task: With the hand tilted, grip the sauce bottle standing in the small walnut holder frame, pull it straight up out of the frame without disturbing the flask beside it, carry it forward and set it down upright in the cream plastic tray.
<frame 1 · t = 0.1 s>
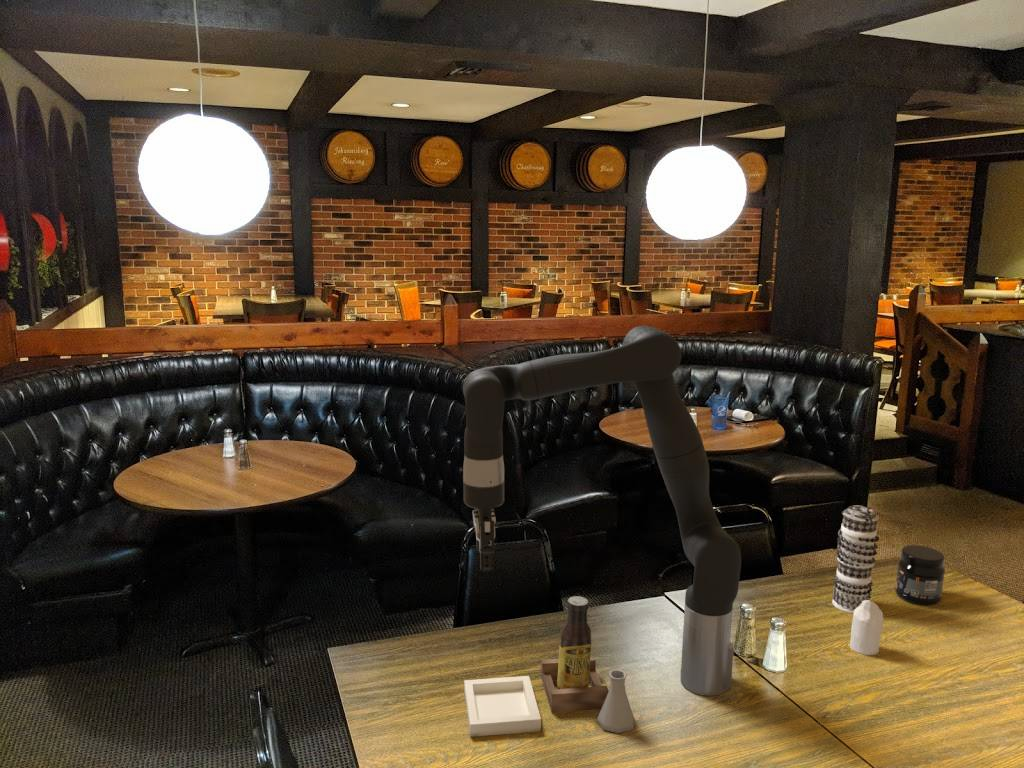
hand: (484, 560, 149), 29 cm above the table, tool pointing down, fingers open, 8 cm apart
tray: (500, 710, 152), on the table
decorative candle: (850, 606, 194), on the table
holder: (573, 692, 158), on the table
white pointed cylinder: (864, 650, 175), on the table
supplement container: (917, 597, 199), on the table
sauce bottle: (573, 693, 158), resting in holder
flask: (615, 722, 149), on the table
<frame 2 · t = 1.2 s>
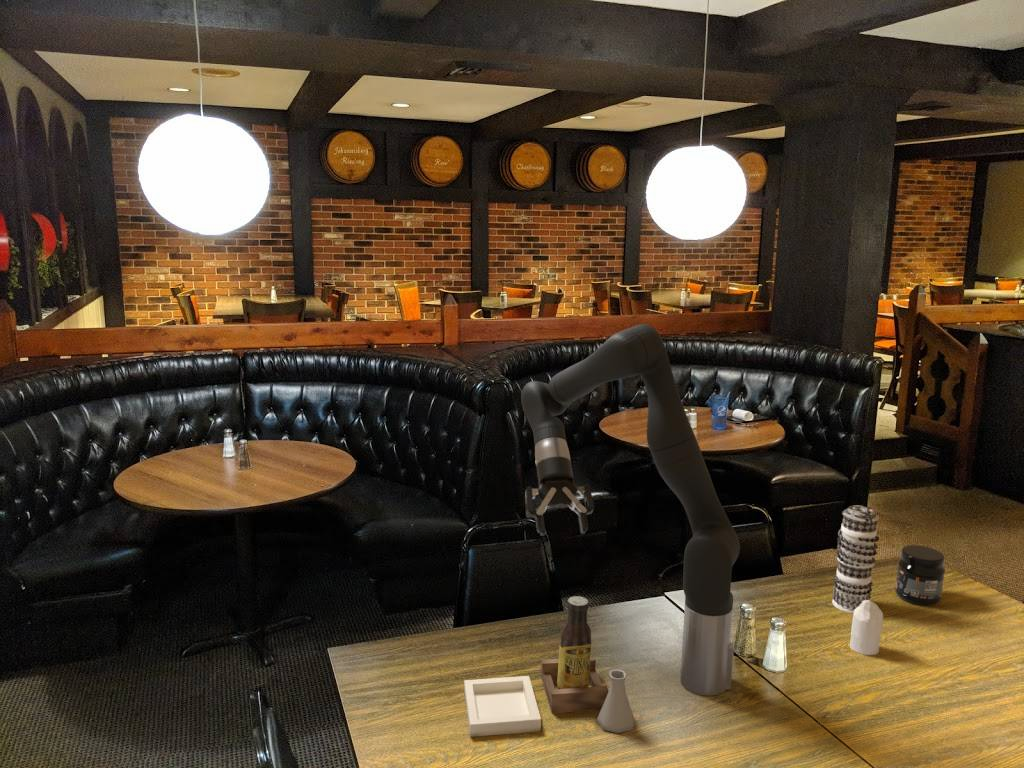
hand: (563, 533, 164), 29 cm above the table, tool tilted 45°, fingers open, 8 cm apart
nothing on the table moved.
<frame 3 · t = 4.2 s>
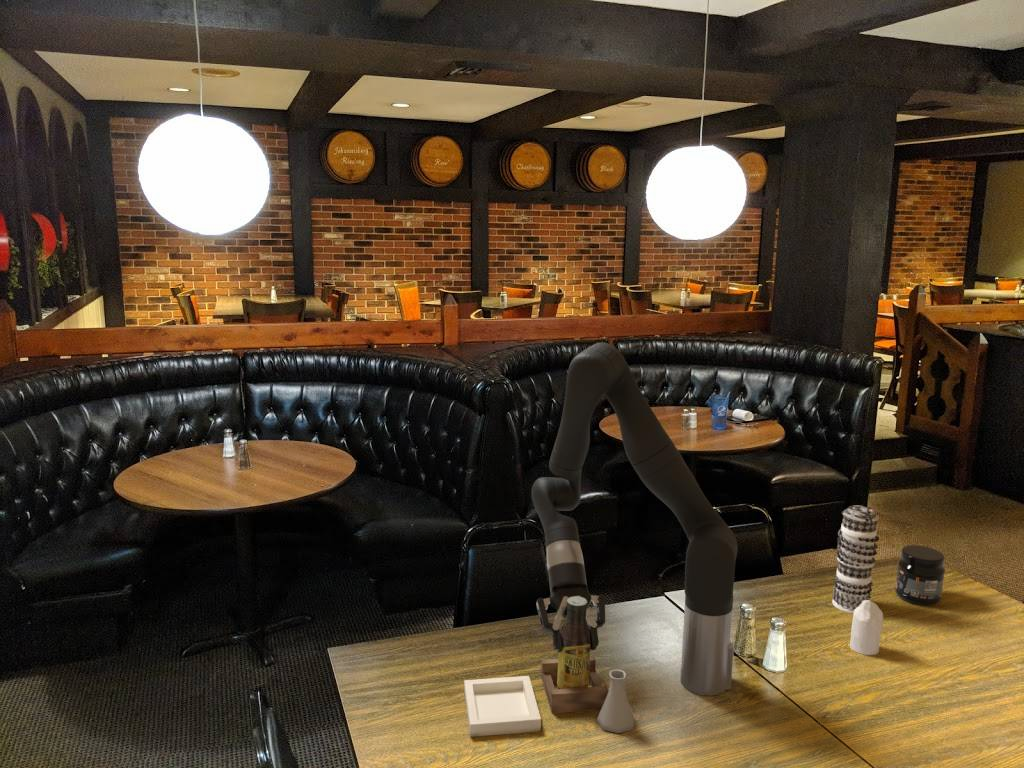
hand: (576, 650, 154), 10 cm above the table, tool tilted 45°, fingers closed on sauce bottle, 6 cm apart
sauce bottle: (573, 693, 158), resting in holder, touching gripper
everything else where it was.
when the fingers open (12 cm above the table, at t = 10.5 s): sauce bottle stays where it is, resting on tray.
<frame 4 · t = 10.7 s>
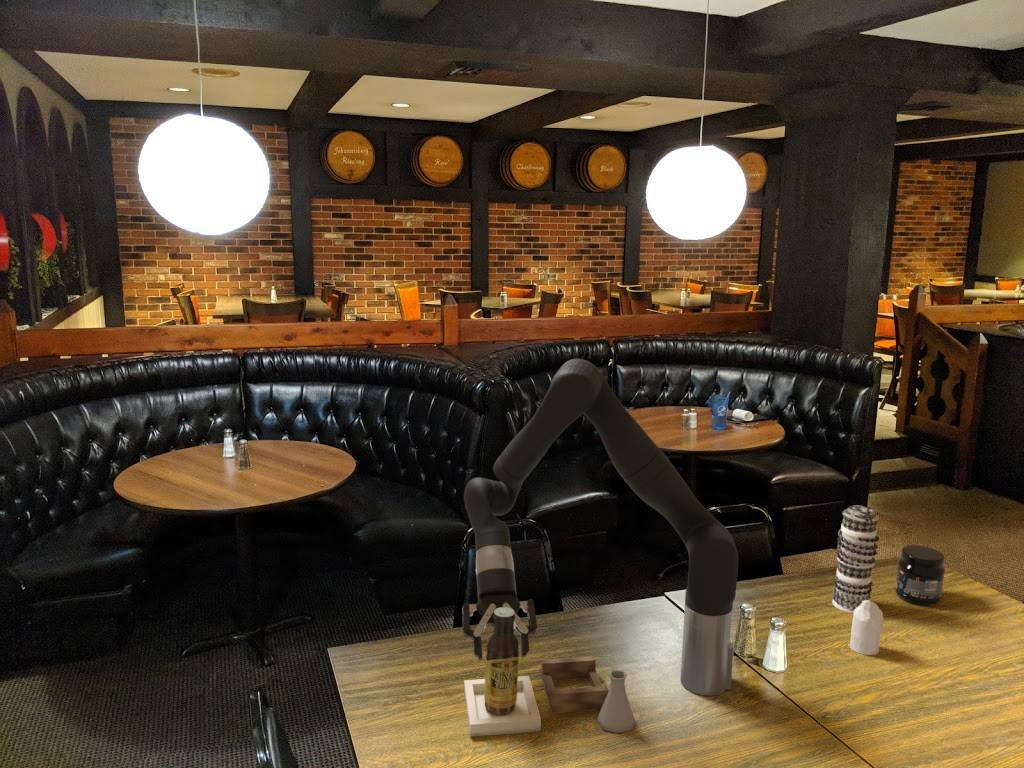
hand: (502, 657, 148), 12 cm above the table, tool tilted 45°, fingers open, 8 cm apart
sauce bottle: (501, 707, 152), resting on tray
everything else where it was.
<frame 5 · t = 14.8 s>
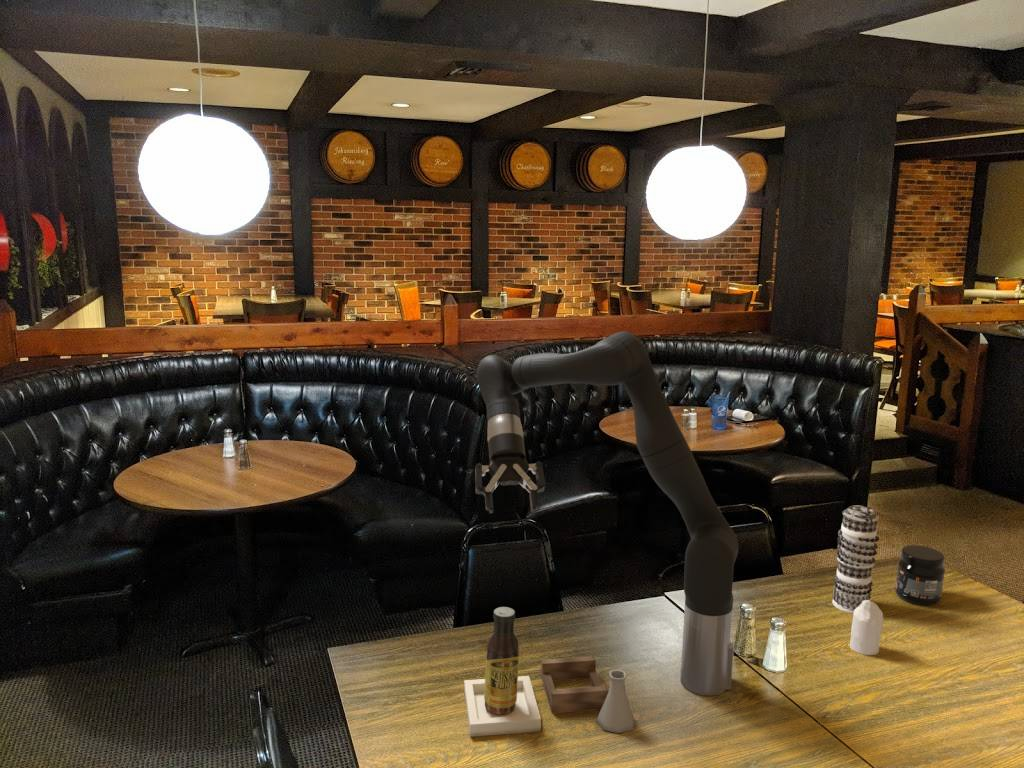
hand: (512, 511, 159), 35 cm above the table, tool tilted 45°, fingers open, 8 cm apart
nothing on the table moved.
at the end: sauce bottle inside the target area on the tray (0.3 cm from its centre), point 0.4 cm above the tray's base; sauce bottle tilted 0°; flask moved 0.3 cm from its start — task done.
